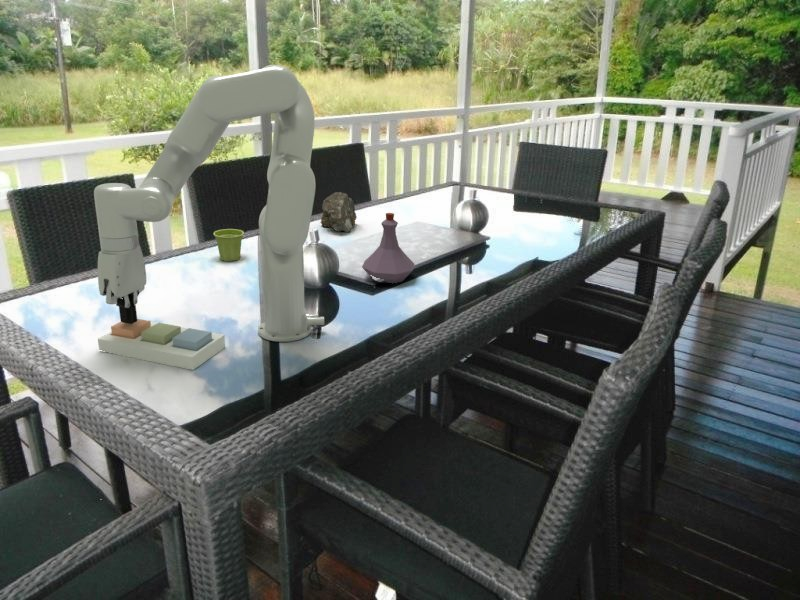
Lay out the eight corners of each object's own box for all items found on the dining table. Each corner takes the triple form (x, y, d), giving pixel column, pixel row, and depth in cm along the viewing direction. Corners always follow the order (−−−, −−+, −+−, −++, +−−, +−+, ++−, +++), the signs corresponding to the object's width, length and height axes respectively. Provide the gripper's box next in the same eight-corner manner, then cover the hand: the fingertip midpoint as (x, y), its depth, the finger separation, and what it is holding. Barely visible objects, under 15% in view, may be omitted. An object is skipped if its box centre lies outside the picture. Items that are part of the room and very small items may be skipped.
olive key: (181, 335, 141) (180, 326, 140) (164, 345, 136) (163, 336, 135) (159, 331, 142) (158, 322, 142) (142, 341, 137) (141, 332, 137)
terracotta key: (151, 330, 143) (150, 321, 142) (133, 339, 138) (132, 330, 137) (130, 326, 145) (129, 317, 144) (112, 335, 140) (110, 326, 139)
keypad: (225, 347, 142) (224, 334, 141) (193, 370, 131) (191, 357, 130) (136, 330, 149) (135, 318, 148) (99, 351, 138) (97, 338, 137)
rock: (357, 188, 231) (322, 177, 235) (341, 221, 226) (305, 209, 231) (367, 213, 248) (334, 202, 252) (352, 244, 243) (318, 232, 247)
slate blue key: (212, 341, 139) (211, 332, 138) (196, 351, 133) (195, 342, 133) (189, 337, 140) (188, 328, 139) (173, 347, 135) (172, 338, 134)
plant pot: (249, 255, 207) (247, 229, 203) (239, 264, 198) (238, 237, 195) (221, 253, 207) (219, 228, 204) (210, 262, 199) (208, 235, 195)
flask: (350, 281, 186) (350, 215, 179) (377, 267, 200) (379, 205, 193) (399, 292, 179) (401, 223, 172) (424, 276, 193) (427, 212, 186)
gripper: (129, 232, 141) (137, 308, 148) (78, 249, 128) (90, 331, 135) (157, 236, 139) (164, 312, 146) (108, 254, 126) (119, 337, 133)
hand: (129, 321), depth 140 cm, fingers closed
